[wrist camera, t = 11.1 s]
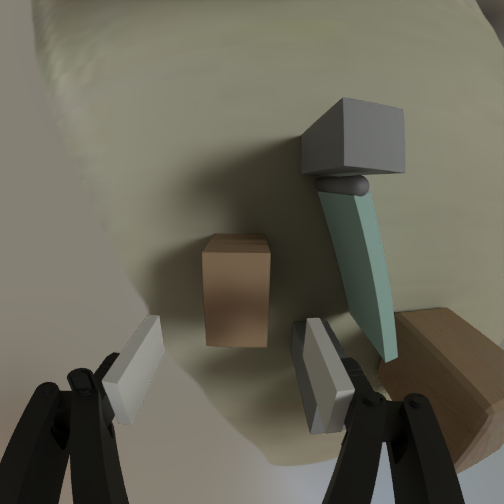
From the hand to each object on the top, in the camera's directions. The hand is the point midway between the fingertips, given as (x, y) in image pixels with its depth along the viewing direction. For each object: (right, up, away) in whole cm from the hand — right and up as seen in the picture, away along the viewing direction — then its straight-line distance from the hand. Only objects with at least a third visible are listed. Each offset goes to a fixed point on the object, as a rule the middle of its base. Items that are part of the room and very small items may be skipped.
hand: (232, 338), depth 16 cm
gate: (+10, +5, +12) cm, 17 cm away
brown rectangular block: (0, +3, +13) cm, 13 cm away
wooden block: (+23, -7, +16) cm, 29 cm away
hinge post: (+8, +15, +10) cm, 20 cm away
